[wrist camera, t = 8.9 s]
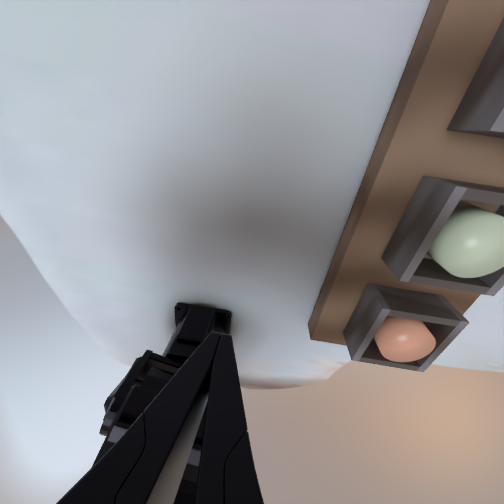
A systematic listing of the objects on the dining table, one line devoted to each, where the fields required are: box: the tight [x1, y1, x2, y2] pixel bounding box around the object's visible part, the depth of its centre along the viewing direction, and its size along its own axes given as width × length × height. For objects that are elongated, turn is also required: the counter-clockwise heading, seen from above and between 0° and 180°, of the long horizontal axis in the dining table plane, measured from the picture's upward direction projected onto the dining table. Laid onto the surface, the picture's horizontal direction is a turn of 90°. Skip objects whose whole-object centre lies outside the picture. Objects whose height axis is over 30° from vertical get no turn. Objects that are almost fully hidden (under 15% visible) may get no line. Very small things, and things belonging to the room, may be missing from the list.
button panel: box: [308, 0, 504, 372], centre depth 15 cm, size 28×12×5 cm, turn 172°
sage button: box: [426, 202, 504, 278], centre depth 14 cm, size 4×4×3 cm
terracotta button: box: [374, 315, 436, 362], centre depth 19 cm, size 4×4×3 cm
